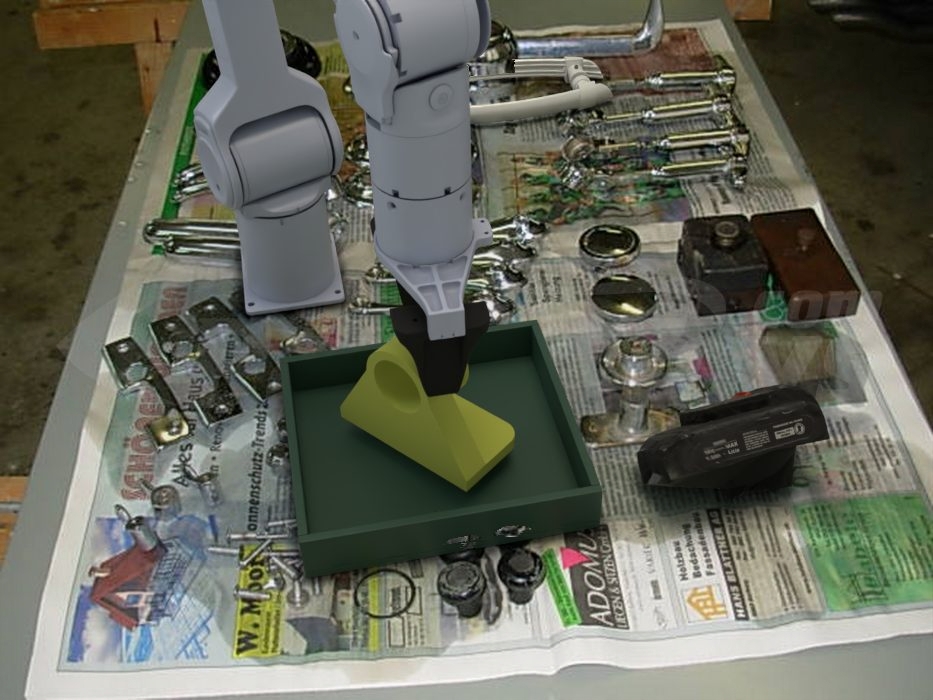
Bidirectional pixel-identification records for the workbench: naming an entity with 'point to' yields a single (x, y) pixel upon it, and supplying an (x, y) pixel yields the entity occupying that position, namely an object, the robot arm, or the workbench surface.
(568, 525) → the parts tray
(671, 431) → the battery
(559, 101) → the door handle
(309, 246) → the robot arm
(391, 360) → the bracket
